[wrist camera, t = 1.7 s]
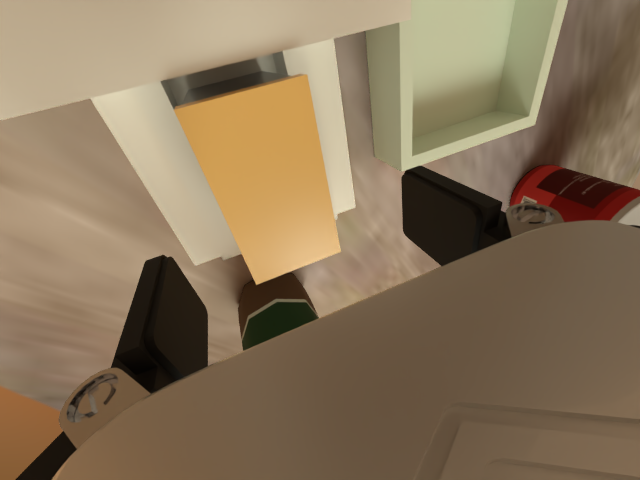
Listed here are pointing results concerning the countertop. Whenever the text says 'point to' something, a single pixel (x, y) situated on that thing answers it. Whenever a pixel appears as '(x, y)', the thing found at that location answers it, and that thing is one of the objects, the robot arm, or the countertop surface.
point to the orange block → (264, 168)
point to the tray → (458, 75)
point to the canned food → (578, 195)
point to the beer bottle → (273, 309)
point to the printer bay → (180, 81)
